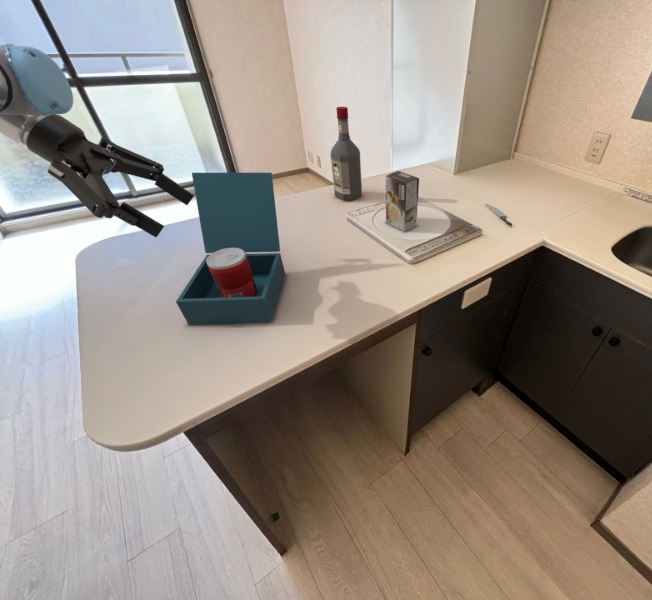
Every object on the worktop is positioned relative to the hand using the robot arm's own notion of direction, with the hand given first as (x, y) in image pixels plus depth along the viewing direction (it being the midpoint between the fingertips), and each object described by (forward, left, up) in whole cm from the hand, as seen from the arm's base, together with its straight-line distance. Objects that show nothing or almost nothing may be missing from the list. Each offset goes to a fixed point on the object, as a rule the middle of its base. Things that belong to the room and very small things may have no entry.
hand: (176, 215), depth 64 cm
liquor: (+65, +15, -22) cm, 70 cm away
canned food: (+4, -5, -21) cm, 22 cm away
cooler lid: (+14, +3, -6) cm, 15 cm away
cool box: (+4, -5, -22) cm, 23 cm away
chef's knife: (+87, -38, -22) cm, 98 cm away
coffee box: (+59, -14, -22) cm, 65 cm away
